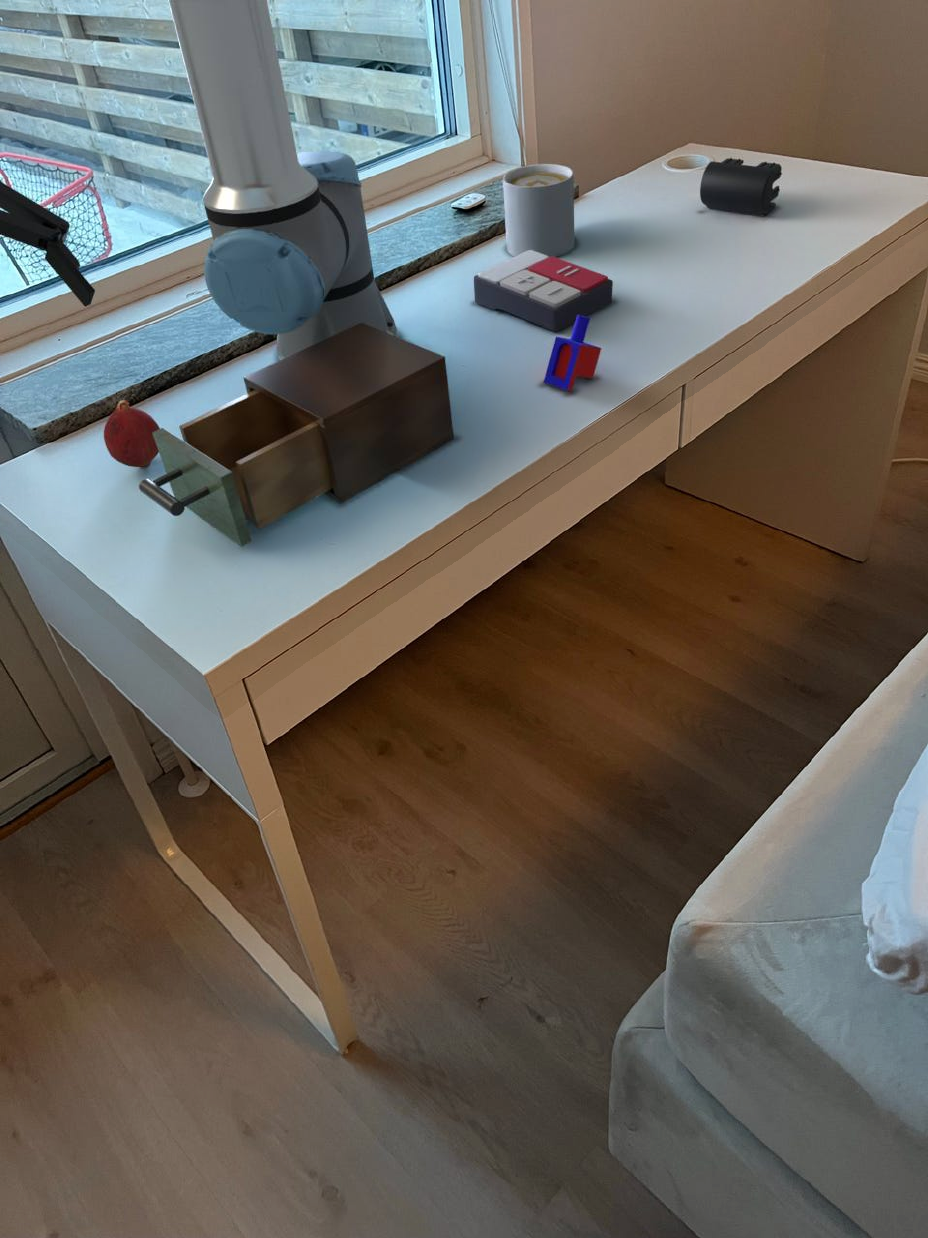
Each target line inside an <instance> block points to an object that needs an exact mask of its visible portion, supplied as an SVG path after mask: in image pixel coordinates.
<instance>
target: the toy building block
mask: <svg viewBox="0 0 928 1238" xmlns="http://www.w3.org/2000/svg"><path fill="white" fill-rule="evenodd" d="M590 321H591V317H588V316H581V315H577V317H576V321H575V322H574V325H573V329H572V332H571V335H570V338H568V337H560V336H555V338H554V342H553V346H552V350H551V353H550V357H549V361H548V365H547V368H546V372H545V375H544V379H543V383H545V384H546V385H550V386H552V387H555V388H558V389H561V390H564V391H566V392H572V391H573V388H574V385H575V382H576V378H577V377H578V378H588V379H593V378H594V375H595V372H596V369H597V365H598V362H599V359H600V355H601V351H602V347H600V346H596V345H594V344H591V343H588V342H585V338H586V335H587V332H588V328H589V324H590Z"/></svg>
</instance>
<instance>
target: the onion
mask: <svg viewBox="0 0 928 1238" xmlns="http://www.w3.org/2000/svg"><path fill="white" fill-rule="evenodd" d="M159 429H161V427H160V426H159V424H158V423H157V421H155V419H154V418H153V417H152V416H151V415H150V414H149V413H147V412H146V411H143V410H141V409H139V408H136V407H132V406H130V402H129V401H127V400H126V399H123V400H120V401H118V403H117V406H116V407H115V410H114V411H113V412H112V413H110V415H109V417H108V418H107V421H106V423H105V425H104V428H103V441H104V445H105V447H106V450H107V451H108V453H109V455H110V457H111V458H113V459H114V460H115V461H116V462H118V463H119V464H121V465H125V466H127V467H132V468H137V469H138V468H139V469H146V468H148V467H150V465H151V463H152V462H153V460H154V459H156V458H157V456H158V454H159V451H158V448H157V445H156V442H155V439H154V436H153V434H152V433H153V432H155V431H157V430H159Z"/></svg>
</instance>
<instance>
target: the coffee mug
mask: <svg viewBox="0 0 928 1238" xmlns="http://www.w3.org/2000/svg"><path fill="white" fill-rule="evenodd" d="M574 177H575V175H574V171H573V169H572V168H570V167H568V166H565V165H563V164H557V163H556V164H554V163H536V164H535V163H534V164H528V165H524V166H519V167H515V168H514V169H511V170H509V171H507V172H506V173H504V175H503V177H502V189H503V204H504V205H503V206H504V207H503V208H504V222H505V237H506V239H505V240H506V250H507V252H508V253H509V254H510V255H511V256H512V257H515V256H517V255H519V254H521V253H524V252H526V251H528V250H533V251H536V252H538V253H541V254H544V255H546V256H549V257H556V258H558V257H560V256H562V255H565V254H567V253H569V252H570V251H572V250H573V249H574V247H575V185H574V184H575V183H574V182H575V181H574V180H575V179H574Z"/></svg>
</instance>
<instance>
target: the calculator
mask: <svg viewBox="0 0 928 1238" xmlns="http://www.w3.org/2000/svg"><path fill="white" fill-rule="evenodd" d="M613 287H614V282H613V280H612V279H610V278H609V276H608V275H605V274H603V273H600V272H597V271H594V270H592V269H589V268H586V267H583V266H580V265H578V264H575V263H573V262H570V261H566V260H564V259H561V258H558V257H549V256H546V255H544V254H541V253H538V252H536V251H533V250H528V251H526V252H524V253H521V254H519V255H517V256H512V257H511V258H508V259H507V260H504V261H503V262H500V263H498V264H496V265H493V266H491V267H490V268H486V269H485V270H483V271H480V272H478V273H477V274H476V275H474V276H473V292H474V293H473V294H474V303H476V304H478V305H481V306H482V307H485V308H487V309H490V310H492V311H495V310H497V309H499V310H503V311H504V312H507V313H509V314H511V315H513V316H516V317H518V318H521V319H523V320H525V321H528V322H530V323H532V324H535V325H538V326H540V327H542V328H545V329H546V330H549V331H552V332H560V331H561V330H564V329H565V328H567V327H569V326H571V325H573V324H575V321H576V317H577V315H581V316H585V317H588V316H589V315H591V314H594V313H595V312H597V311H598V310H600V309H602V308H604V307H606V306H608V305H611V303H612V302H613Z"/></svg>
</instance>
